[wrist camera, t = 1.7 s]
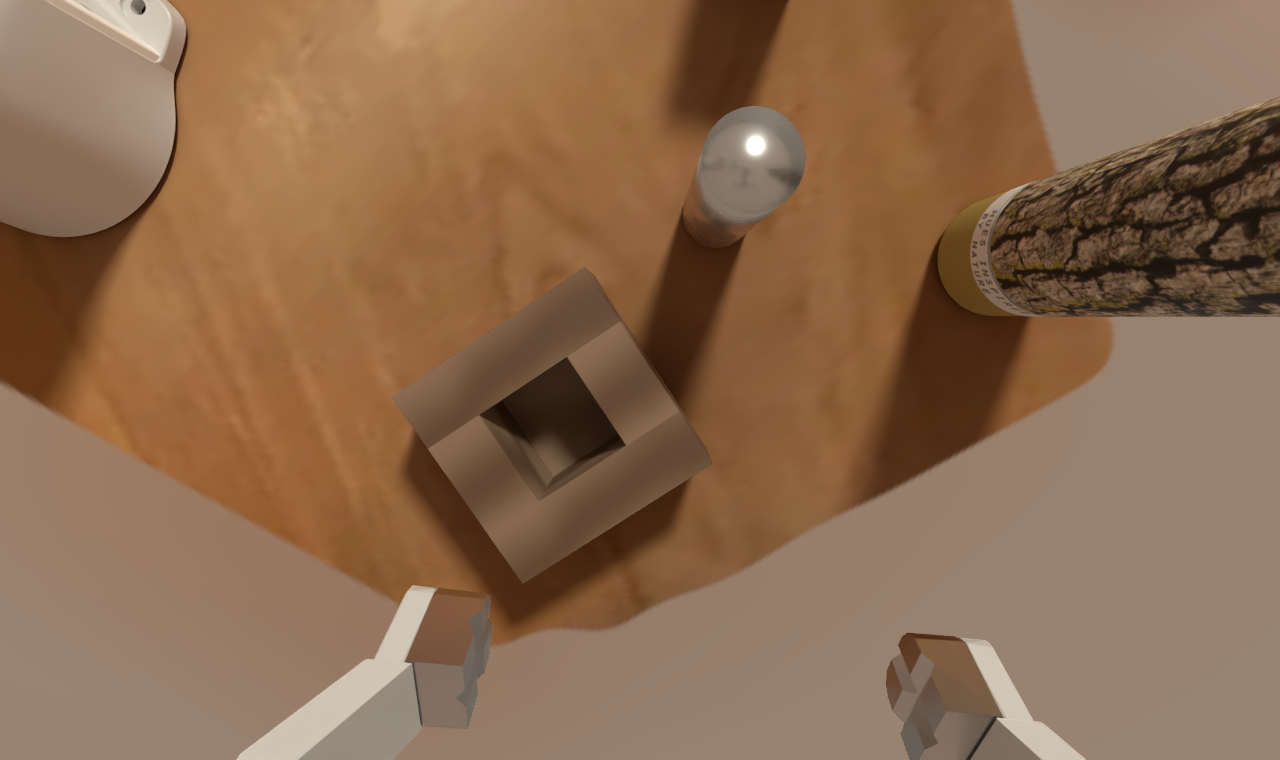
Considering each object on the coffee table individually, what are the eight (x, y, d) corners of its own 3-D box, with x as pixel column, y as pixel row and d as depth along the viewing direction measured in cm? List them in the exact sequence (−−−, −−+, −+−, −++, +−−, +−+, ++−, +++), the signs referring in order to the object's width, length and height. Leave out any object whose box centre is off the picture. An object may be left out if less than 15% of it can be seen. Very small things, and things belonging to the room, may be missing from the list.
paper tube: (992, 339, 35) (1800, 395, 11) (907, 266, 35) (1541, 145, 10) (1072, 250, 35) (2127, 87, 10) (987, 174, 34) (1865, -192, 10)
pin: (669, 203, 35) (681, 144, 23) (727, 164, 35) (769, 84, 23) (706, 261, 35) (737, 233, 23) (763, 223, 35) (824, 175, 23)
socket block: (430, 384, 36) (391, 397, 31) (594, 274, 35) (584, 267, 30) (541, 544, 37) (522, 583, 32) (703, 441, 36) (712, 463, 31)
